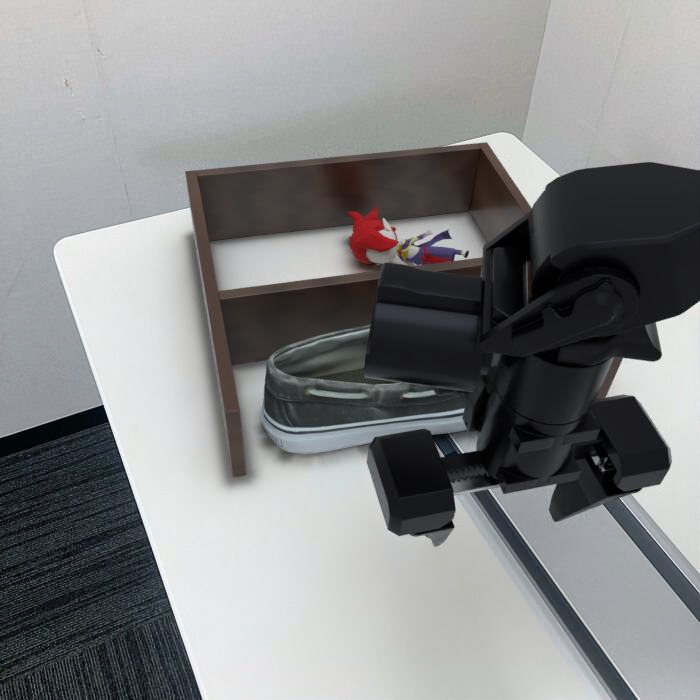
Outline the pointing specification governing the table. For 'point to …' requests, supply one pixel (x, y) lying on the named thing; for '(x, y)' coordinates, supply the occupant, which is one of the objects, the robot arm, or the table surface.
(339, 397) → the boat shoe
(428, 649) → the table surface
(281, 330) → the shoe rack
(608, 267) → the robot arm
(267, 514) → the table surface
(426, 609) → the table surface
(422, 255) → the figurine
